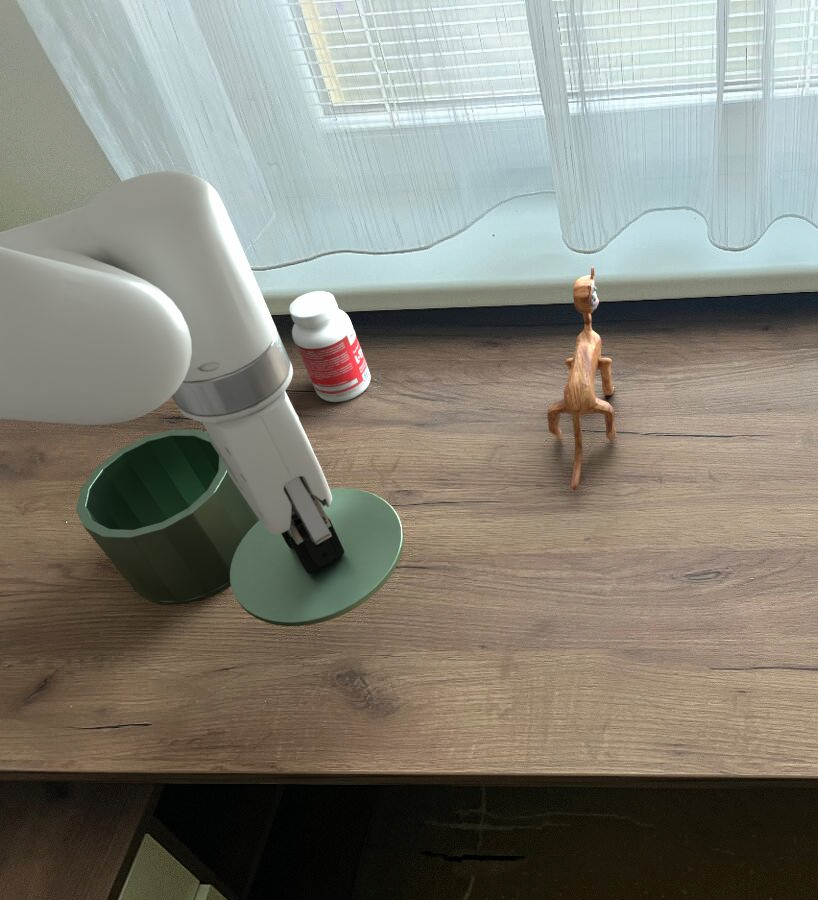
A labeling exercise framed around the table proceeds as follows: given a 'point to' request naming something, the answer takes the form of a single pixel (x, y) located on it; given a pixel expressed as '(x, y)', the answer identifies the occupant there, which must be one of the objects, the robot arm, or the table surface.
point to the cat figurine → (584, 377)
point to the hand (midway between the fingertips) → (315, 548)
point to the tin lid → (333, 586)
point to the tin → (167, 516)
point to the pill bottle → (328, 347)
